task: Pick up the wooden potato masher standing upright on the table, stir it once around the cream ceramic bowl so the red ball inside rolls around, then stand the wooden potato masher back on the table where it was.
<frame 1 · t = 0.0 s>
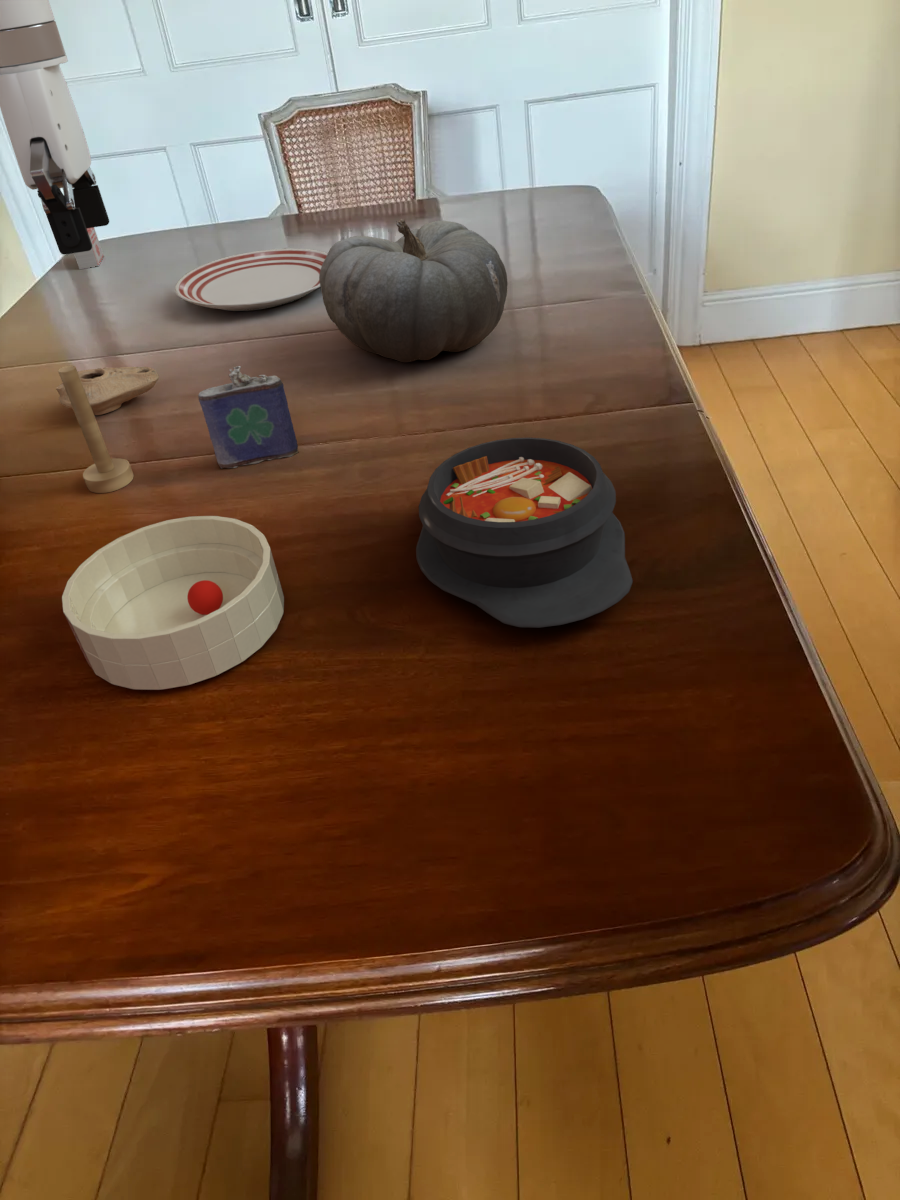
hand: (86, 238, 94), 24 cm above the table, tool pointing down, fingers open, 9 cm apart
pottery oil lamp: (116, 408, 118), on the table
gourd: (424, 343, 125), on the table
wooden potato masher: (110, 481, 102), on the table
white milk carton: (92, 263, 177), on the table
bowl: (188, 626, 78), on the table
casserole: (520, 560, 81), on the table
dinner plate: (262, 293, 150), on the table
red ball: (205, 597, 78), point 2 cm above the table, touching bowl
flask: (259, 459, 102), on the table
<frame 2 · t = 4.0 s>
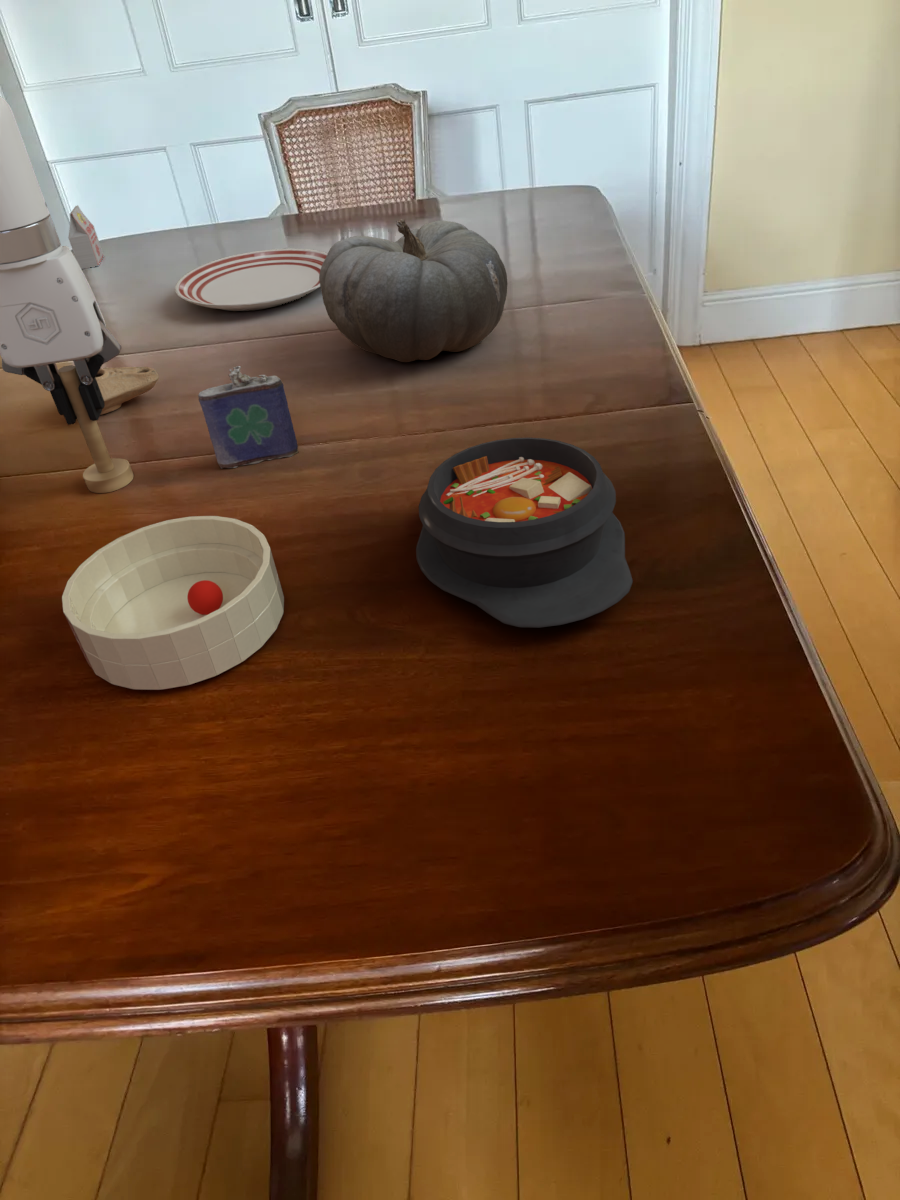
hand: (85, 416, 97), 8 cm above the table, tool pointing down, fingers closed on wooden potato masher
wooden potato masher: (110, 481, 102), on the table, touching gripper
everything else where it was.
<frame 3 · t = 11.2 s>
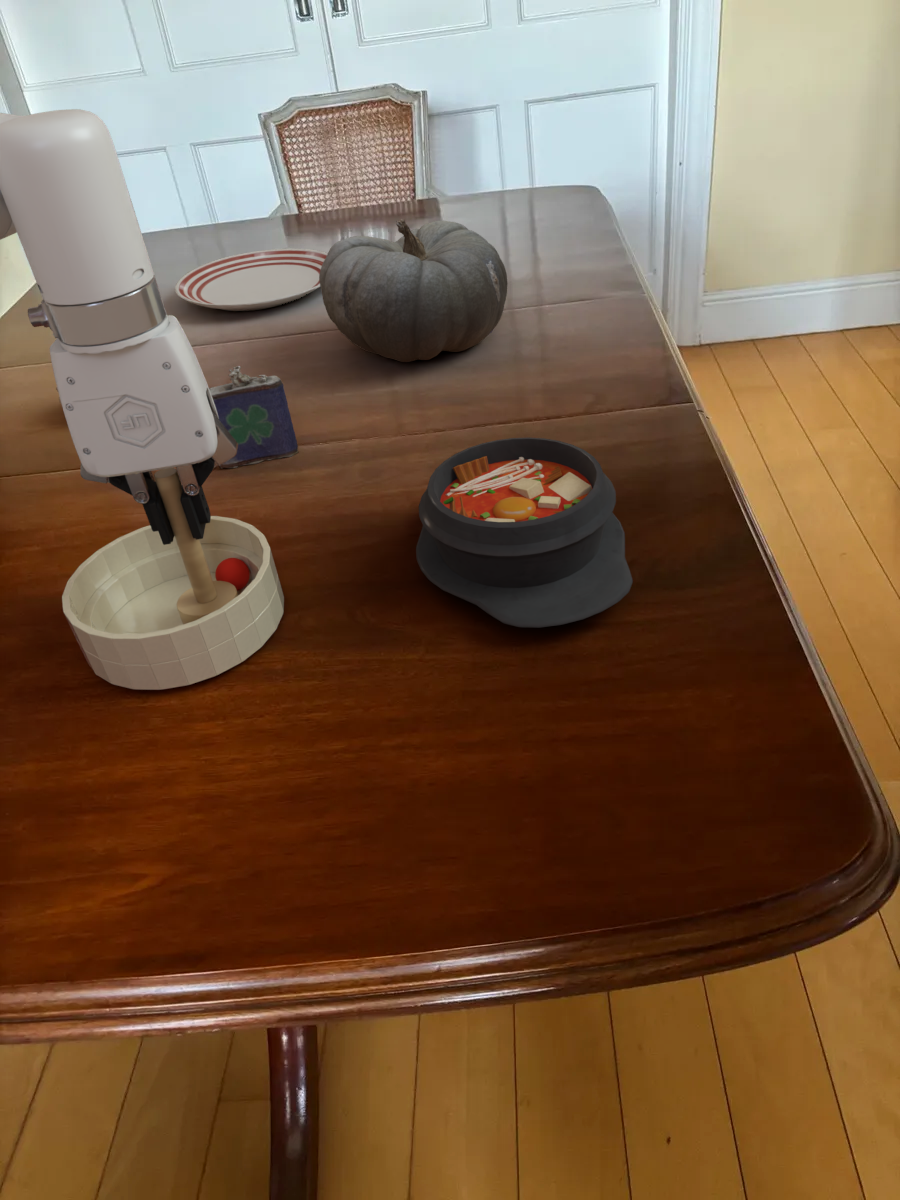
hand: (185, 531, 73), 9 cm above the table, tool pointing down, fingers closed on wooden potato masher
wooden potato masher: (211, 612, 78), point 1 cm above the table, touching gripper, red ball
red ball: (232, 574, 80), point 2 cm above the table, tilted 134°, touching bowl, wooden potato masher
everything else where it was.
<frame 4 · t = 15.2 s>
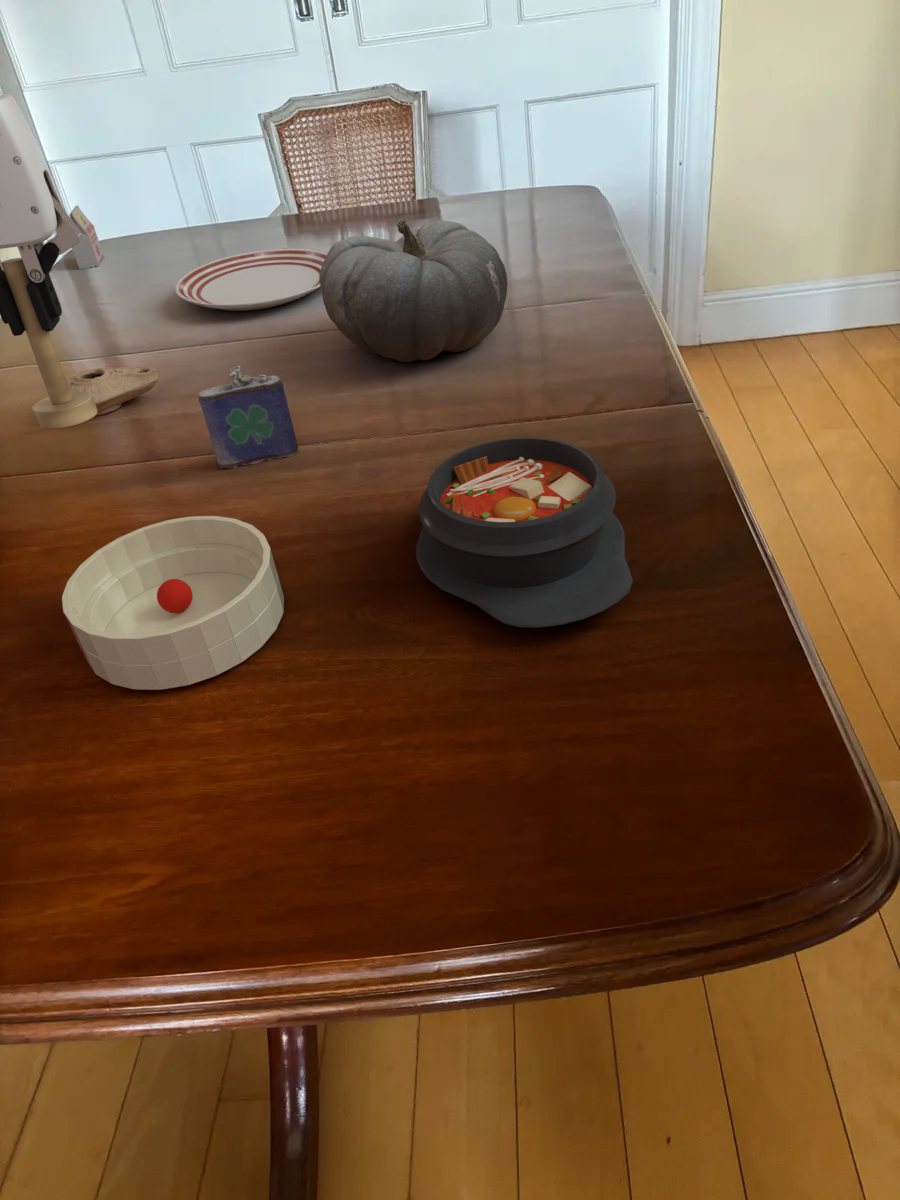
hand: (37, 326, 76), 23 cm above the table, tool pointing down, fingers closed on wooden potato masher
wooden potato masher: (68, 418, 80), point 15 cm above the table, tilted 6°, touching gripper
red ball: (174, 595, 79), point 2 cm above the table, tilted 63°, touching bowl
everything else where it was.
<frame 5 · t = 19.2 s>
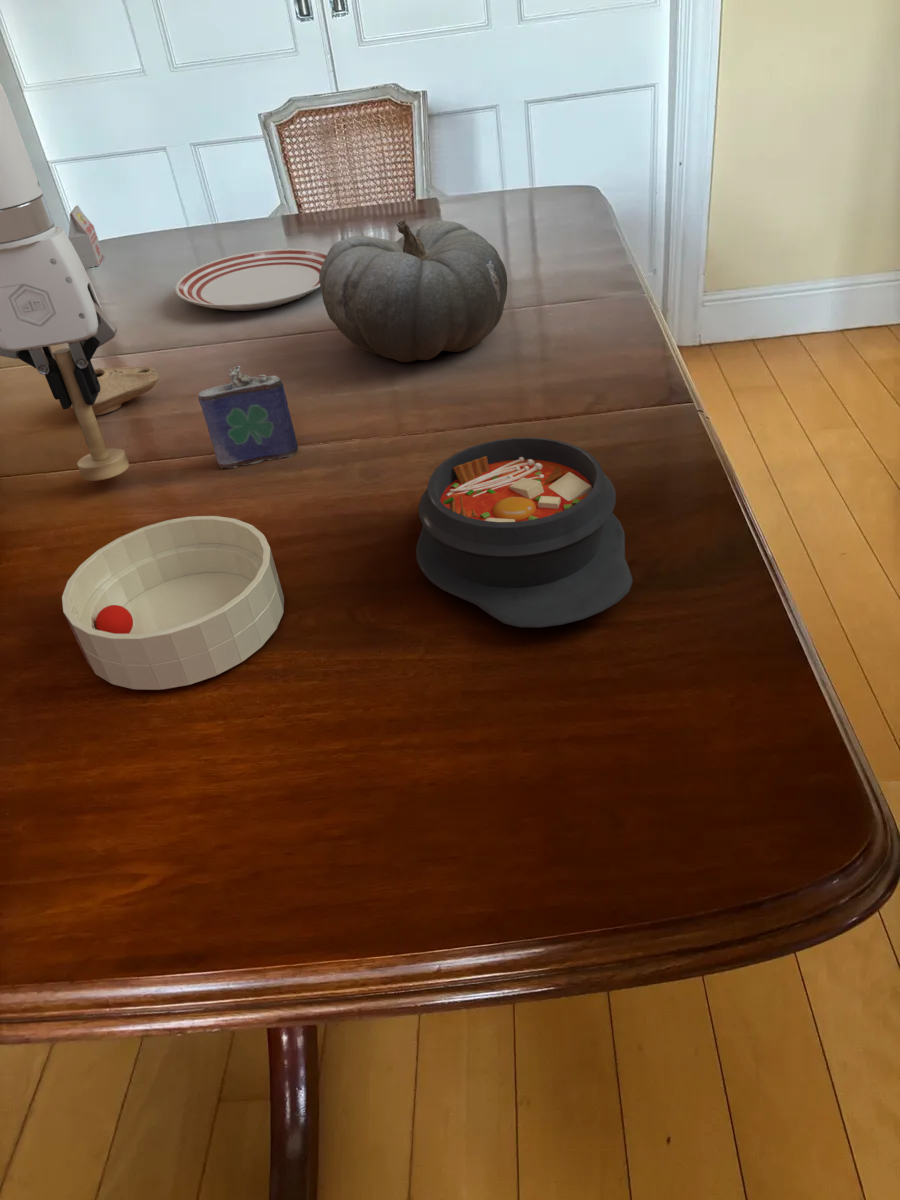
hand: (80, 400, 96), 10 cm above the table, tool pointing down, fingers closed on wooden potato masher
wooden potato masher: (105, 470, 100), point 2 cm above the table, tilted 5°, touching gripper
red ball: (114, 622, 76), point 2 cm above the table, tilted 87°, touching bowl
everything else where it was.
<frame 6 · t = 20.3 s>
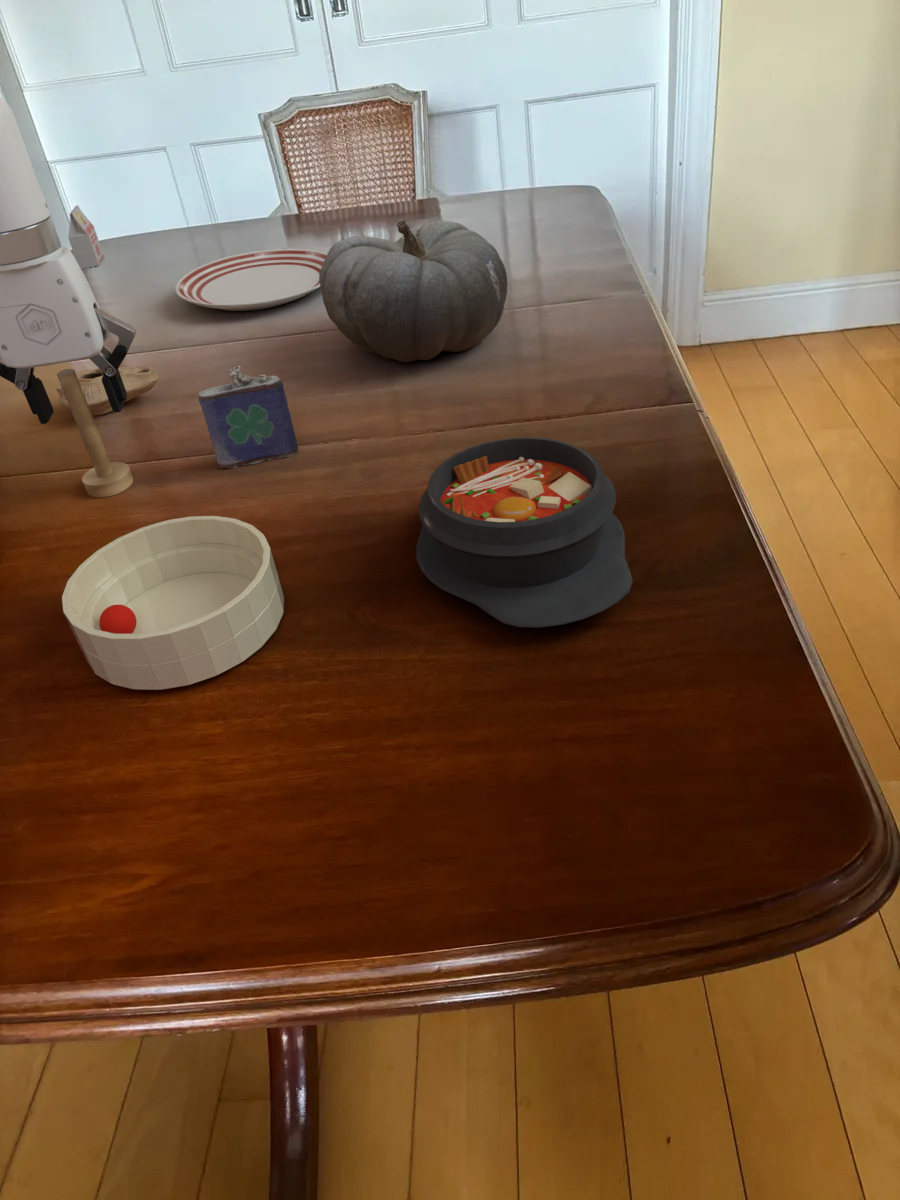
hand: (83, 411, 97), 9 cm above the table, tool pointing down, fingers open, 7 cm apart
wooden potato masher: (110, 485, 101), on the table
red ball: (118, 622, 77), point 2 cm above the table, tilted 98°, touching bowl
everything else where it was.
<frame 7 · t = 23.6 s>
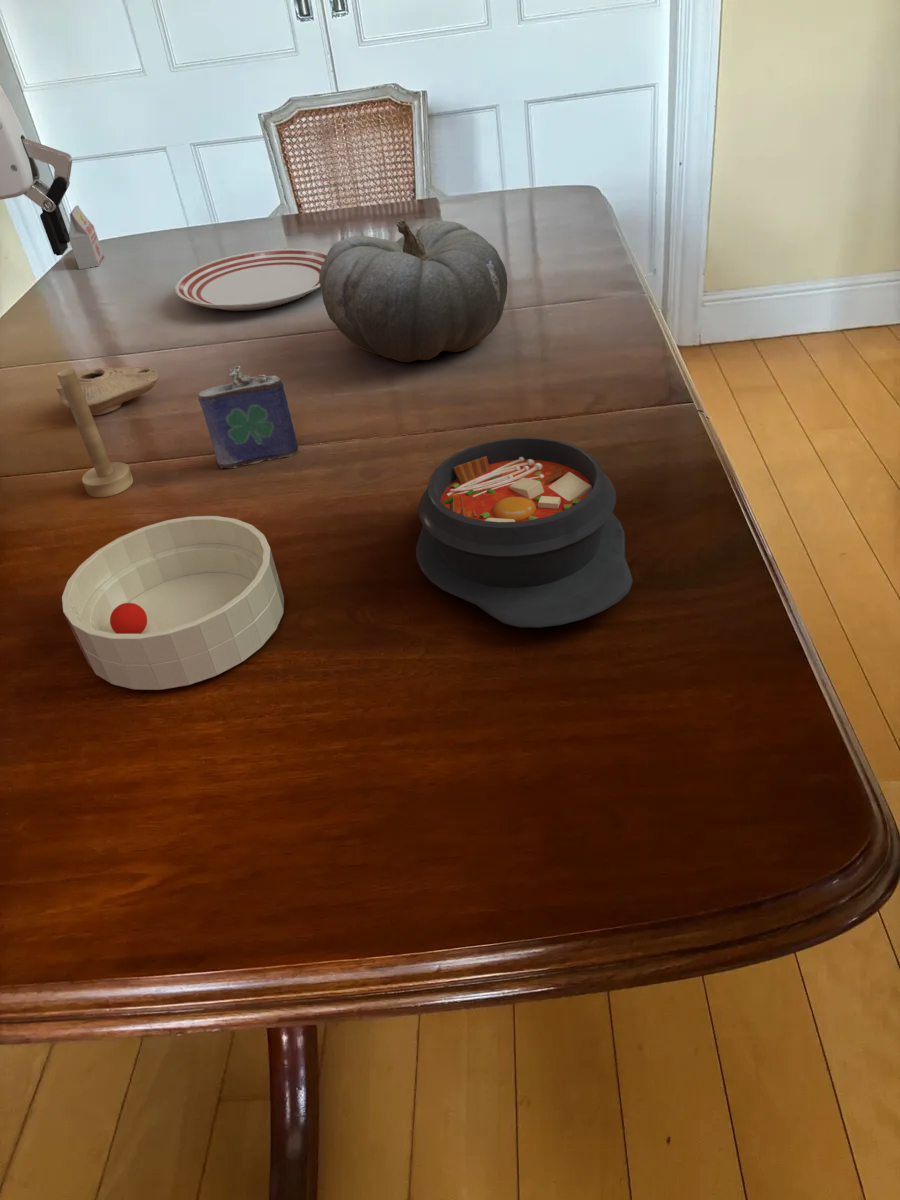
hand: (13, 259, 89), 24 cm above the table, tool pointing down, fingers open, 9 cm apart
red ball: (128, 620, 77), point 2 cm above the table, tilted 130°, touching bowl
everything else where it was.
at the end: red ball moved 6.6 cm from its start; red ball inside the target area in the bowl (4.5 cm from its centre), point 2.1 cm above the bowl's base; wooden potato masher inside the target area (1.0 cm from its centre), on the table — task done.
